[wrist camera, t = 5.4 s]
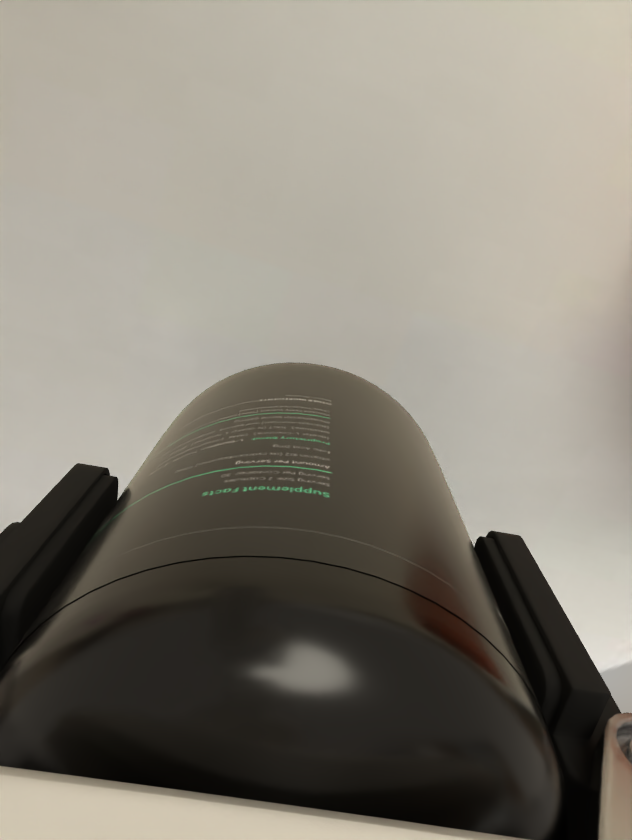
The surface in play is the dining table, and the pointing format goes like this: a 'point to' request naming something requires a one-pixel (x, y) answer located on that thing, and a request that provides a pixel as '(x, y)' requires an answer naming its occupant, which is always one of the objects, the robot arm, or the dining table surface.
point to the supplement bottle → (289, 625)
